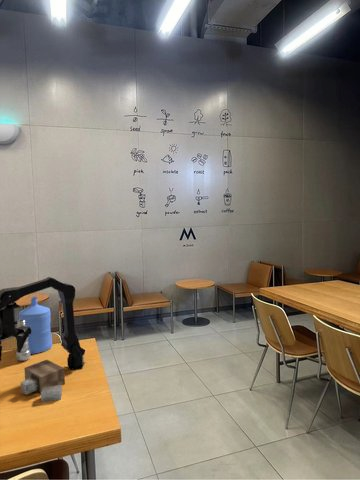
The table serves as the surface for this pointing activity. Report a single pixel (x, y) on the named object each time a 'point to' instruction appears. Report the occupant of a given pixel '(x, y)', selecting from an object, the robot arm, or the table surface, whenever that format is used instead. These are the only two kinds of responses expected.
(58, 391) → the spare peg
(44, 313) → the water jug
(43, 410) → the table surface
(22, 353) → the plastic bottle
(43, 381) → the socket block
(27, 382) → the peg
